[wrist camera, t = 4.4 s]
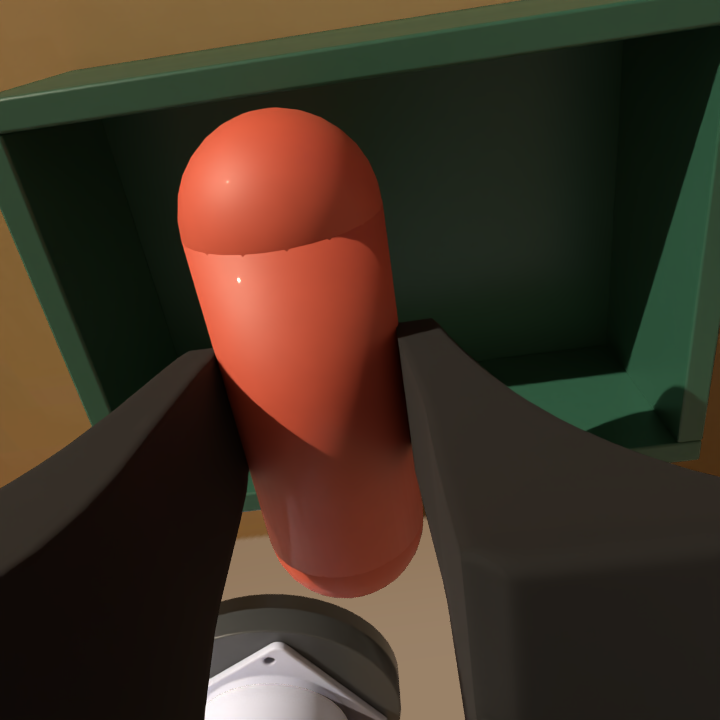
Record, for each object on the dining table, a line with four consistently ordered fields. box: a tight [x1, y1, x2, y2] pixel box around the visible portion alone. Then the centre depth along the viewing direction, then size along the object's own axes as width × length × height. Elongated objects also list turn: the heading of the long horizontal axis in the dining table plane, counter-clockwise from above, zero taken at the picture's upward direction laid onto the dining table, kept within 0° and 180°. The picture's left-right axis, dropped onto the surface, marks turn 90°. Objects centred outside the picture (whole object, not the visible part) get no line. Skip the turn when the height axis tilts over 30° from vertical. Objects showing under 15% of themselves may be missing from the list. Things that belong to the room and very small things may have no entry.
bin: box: [0, 0, 720, 512], centre depth 16 cm, size 10×14×6 cm
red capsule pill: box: [178, 107, 423, 598], centre depth 11 cm, size 9×3×3 cm, turn 8°
